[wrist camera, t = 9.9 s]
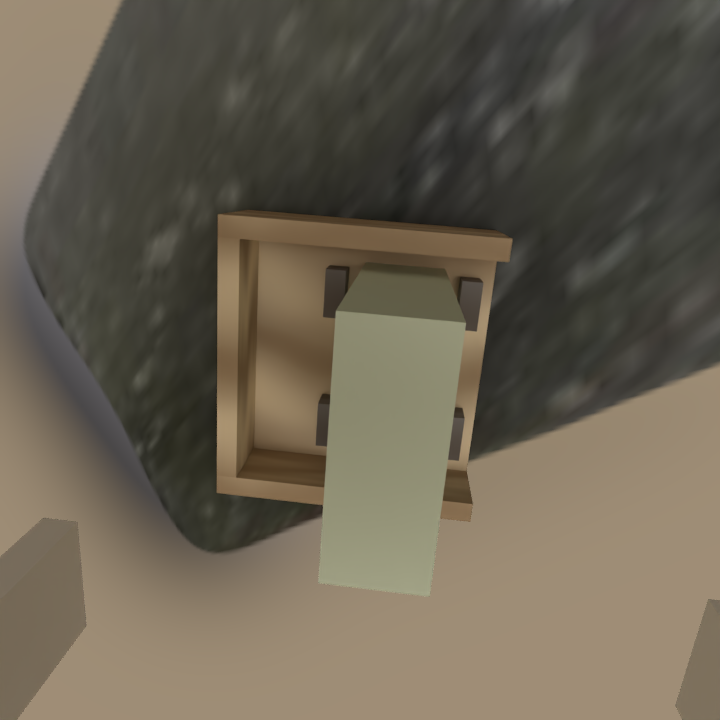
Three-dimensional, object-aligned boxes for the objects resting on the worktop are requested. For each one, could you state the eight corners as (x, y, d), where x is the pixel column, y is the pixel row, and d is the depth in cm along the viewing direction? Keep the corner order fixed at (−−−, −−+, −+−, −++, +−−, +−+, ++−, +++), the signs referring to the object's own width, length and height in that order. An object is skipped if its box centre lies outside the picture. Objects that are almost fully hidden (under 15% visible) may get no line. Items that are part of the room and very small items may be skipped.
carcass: (248, 209, 31) (217, 214, 26) (496, 230, 30) (512, 239, 25) (243, 450, 35) (216, 492, 30) (462, 474, 34) (470, 521, 29)
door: (350, 260, 29) (310, 308, 18) (445, 269, 29) (465, 322, 18) (337, 440, 32) (296, 580, 21) (423, 449, 32) (429, 596, 21)
